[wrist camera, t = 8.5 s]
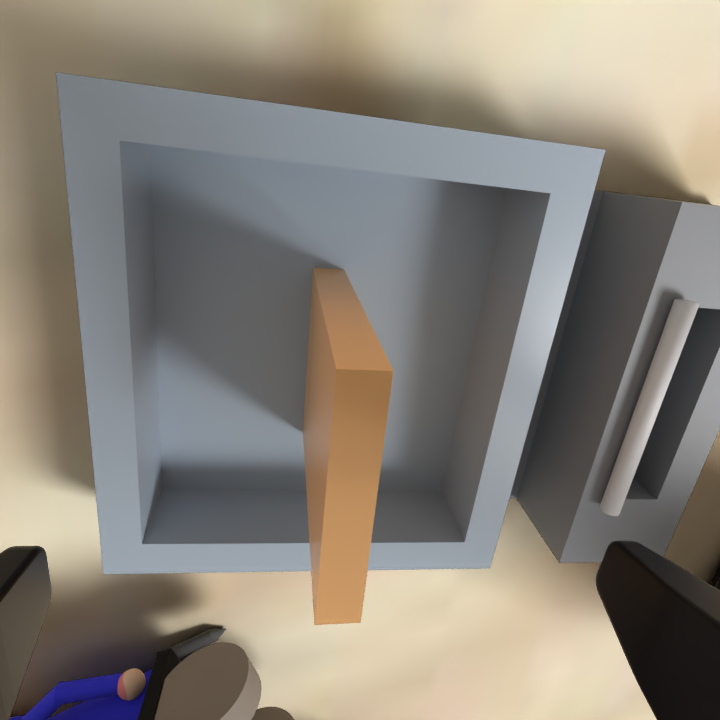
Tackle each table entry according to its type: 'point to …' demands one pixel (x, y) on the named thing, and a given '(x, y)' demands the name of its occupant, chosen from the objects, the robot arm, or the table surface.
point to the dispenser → (627, 380)
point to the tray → (305, 316)
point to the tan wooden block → (342, 443)
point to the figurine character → (168, 688)
